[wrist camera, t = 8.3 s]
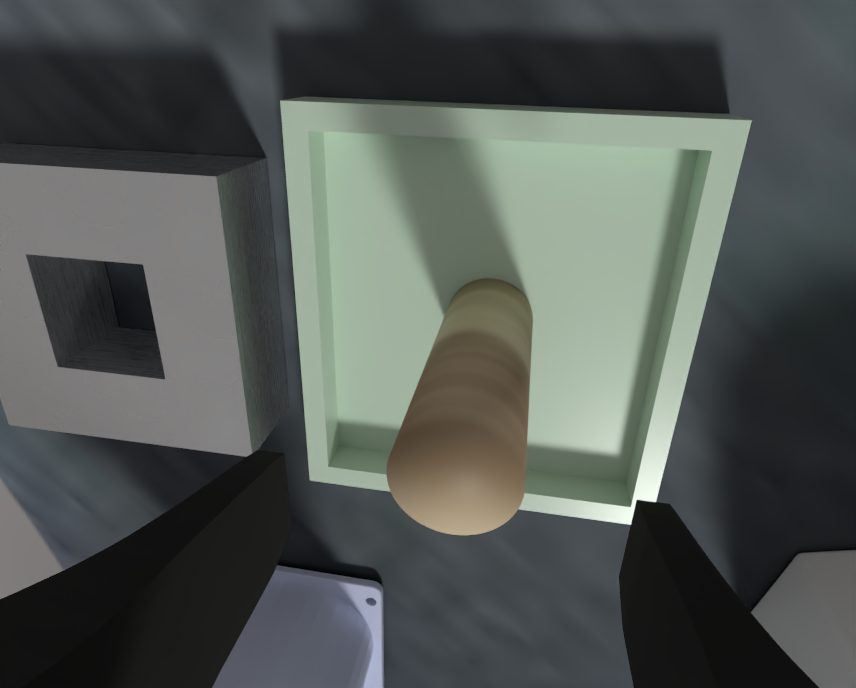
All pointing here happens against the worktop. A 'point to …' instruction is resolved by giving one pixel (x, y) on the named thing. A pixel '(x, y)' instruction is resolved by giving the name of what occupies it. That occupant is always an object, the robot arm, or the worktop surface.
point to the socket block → (168, 291)
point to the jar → (815, 615)
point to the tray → (507, 274)
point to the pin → (469, 416)
